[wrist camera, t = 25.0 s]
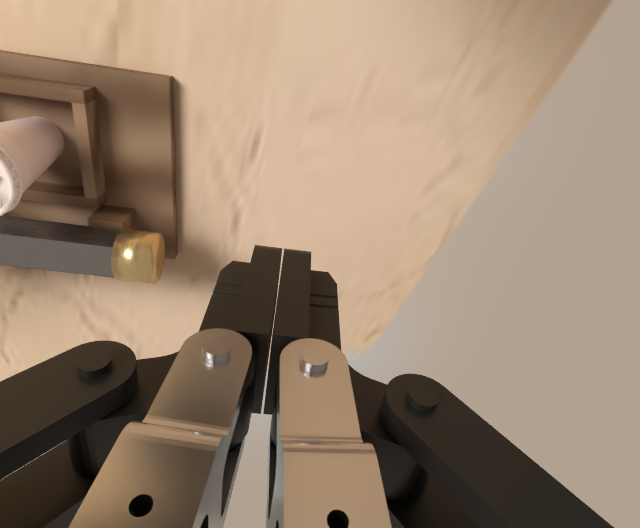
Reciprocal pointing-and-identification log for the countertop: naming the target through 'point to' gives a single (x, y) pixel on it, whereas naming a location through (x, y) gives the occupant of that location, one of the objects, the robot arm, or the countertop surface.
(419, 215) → the countertop surface
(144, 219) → the holder
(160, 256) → the bar
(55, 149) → the smoothie
